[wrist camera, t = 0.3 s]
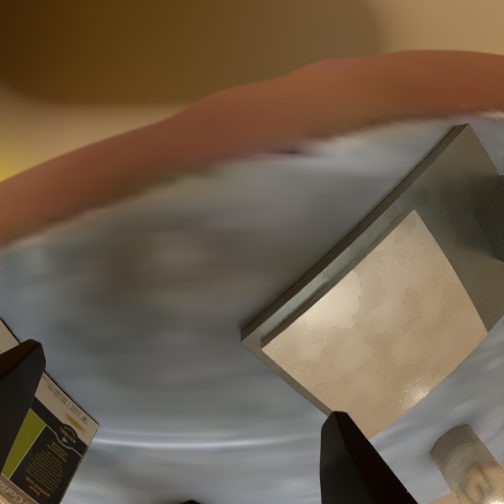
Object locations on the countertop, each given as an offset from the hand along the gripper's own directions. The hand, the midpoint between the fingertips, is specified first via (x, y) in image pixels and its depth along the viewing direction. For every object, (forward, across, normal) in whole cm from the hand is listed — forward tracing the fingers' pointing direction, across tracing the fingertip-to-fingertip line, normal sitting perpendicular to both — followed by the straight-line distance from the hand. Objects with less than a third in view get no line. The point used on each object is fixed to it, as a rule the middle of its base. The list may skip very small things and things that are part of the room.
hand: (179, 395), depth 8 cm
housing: (+11, -31, +19) cm, 38 cm away
